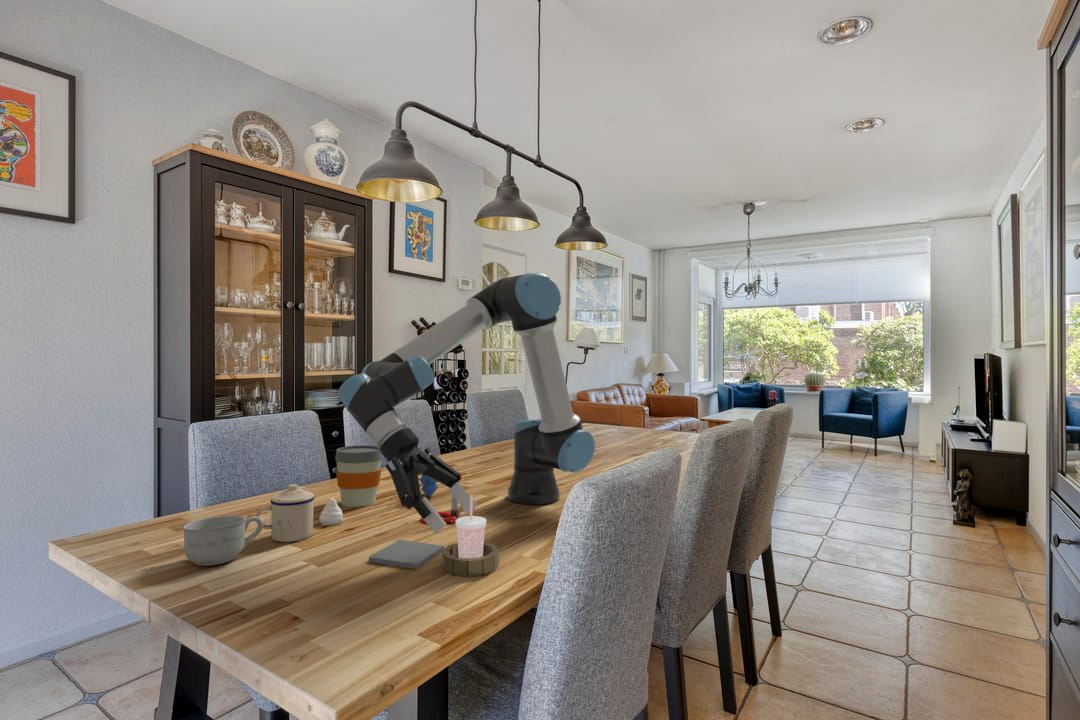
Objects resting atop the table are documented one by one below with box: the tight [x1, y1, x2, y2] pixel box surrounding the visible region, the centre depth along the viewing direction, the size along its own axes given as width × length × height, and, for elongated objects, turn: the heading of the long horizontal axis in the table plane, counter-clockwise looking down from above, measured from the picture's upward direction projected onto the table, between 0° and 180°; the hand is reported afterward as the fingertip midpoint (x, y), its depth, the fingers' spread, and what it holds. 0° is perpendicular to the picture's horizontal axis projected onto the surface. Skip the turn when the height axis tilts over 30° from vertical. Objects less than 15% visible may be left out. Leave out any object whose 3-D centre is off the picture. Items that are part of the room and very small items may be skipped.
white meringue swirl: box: [318, 497, 344, 526], centre depth 135 cm, size 6×6×5 cm
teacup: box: [182, 514, 264, 567], centre depth 110 cm, size 14×11×8 cm
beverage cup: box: [455, 494, 487, 559], centre depth 109 cm, size 6×6×14 cm
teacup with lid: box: [255, 483, 315, 543], centre depth 124 cm, size 12×9×12 cm
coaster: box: [368, 539, 445, 570], centre depth 114 cm, size 11×11×1 cm
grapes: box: [419, 458, 439, 497], centre depth 161 cm, size 12×7×12 cm, turn 29°
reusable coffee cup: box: [334, 444, 384, 508], centre depth 153 cm, size 13×13×15 cm
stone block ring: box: [441, 541, 500, 578], centre depth 109 cm, size 11×11×3 cm
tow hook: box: [420, 468, 461, 524], centre depth 139 cm, size 8×13×9 cm
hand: (457, 519), depth 109 cm, fingers open, 13 cm apart
